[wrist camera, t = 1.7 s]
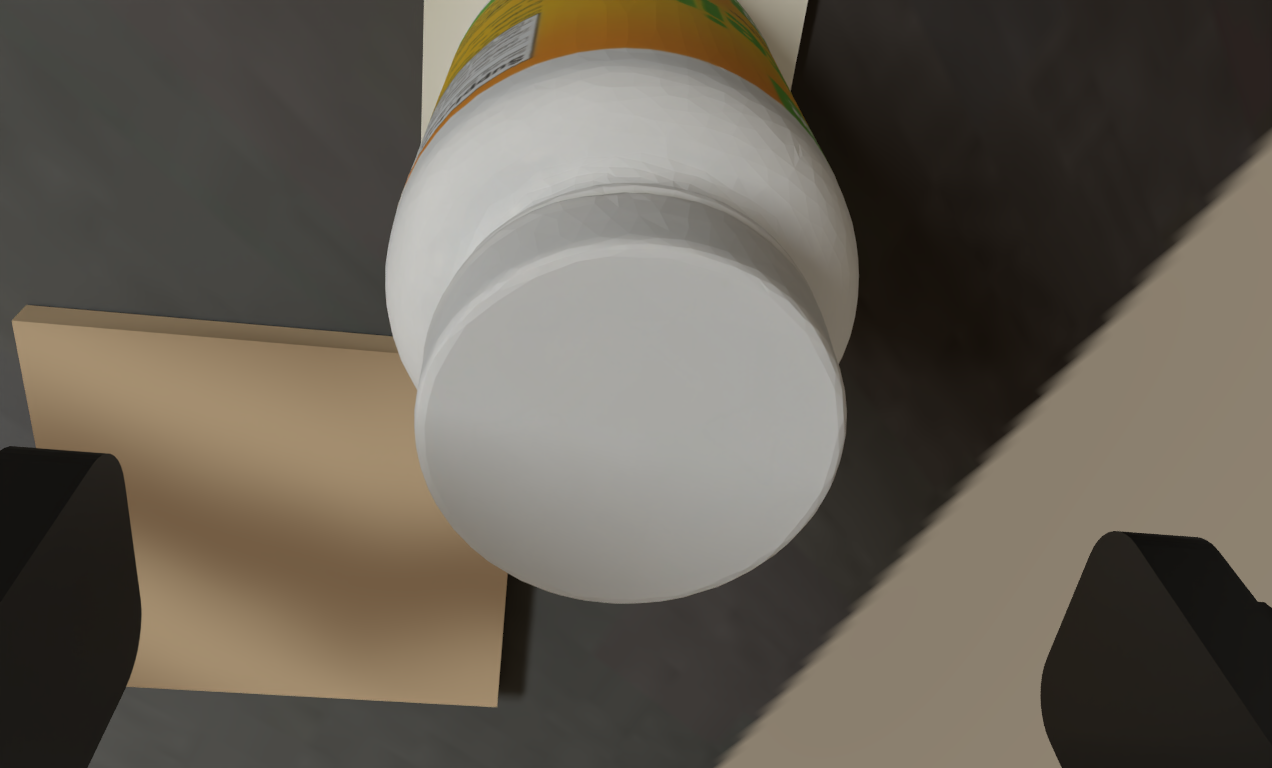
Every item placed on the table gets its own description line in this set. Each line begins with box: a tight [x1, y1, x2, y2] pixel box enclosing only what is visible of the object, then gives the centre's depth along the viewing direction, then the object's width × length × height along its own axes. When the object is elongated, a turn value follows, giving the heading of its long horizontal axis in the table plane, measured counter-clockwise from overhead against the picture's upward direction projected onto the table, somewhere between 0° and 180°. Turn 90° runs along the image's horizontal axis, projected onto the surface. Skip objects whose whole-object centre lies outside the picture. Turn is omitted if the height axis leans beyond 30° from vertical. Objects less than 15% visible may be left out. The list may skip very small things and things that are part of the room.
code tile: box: [421, 0, 808, 143], centre depth 19 cm, size 8×6×1 cm
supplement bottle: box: [385, 0, 859, 604], centre depth 14 cm, size 5×5×10 cm
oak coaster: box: [12, 305, 508, 707], centre depth 23 cm, size 9×9×1 cm
